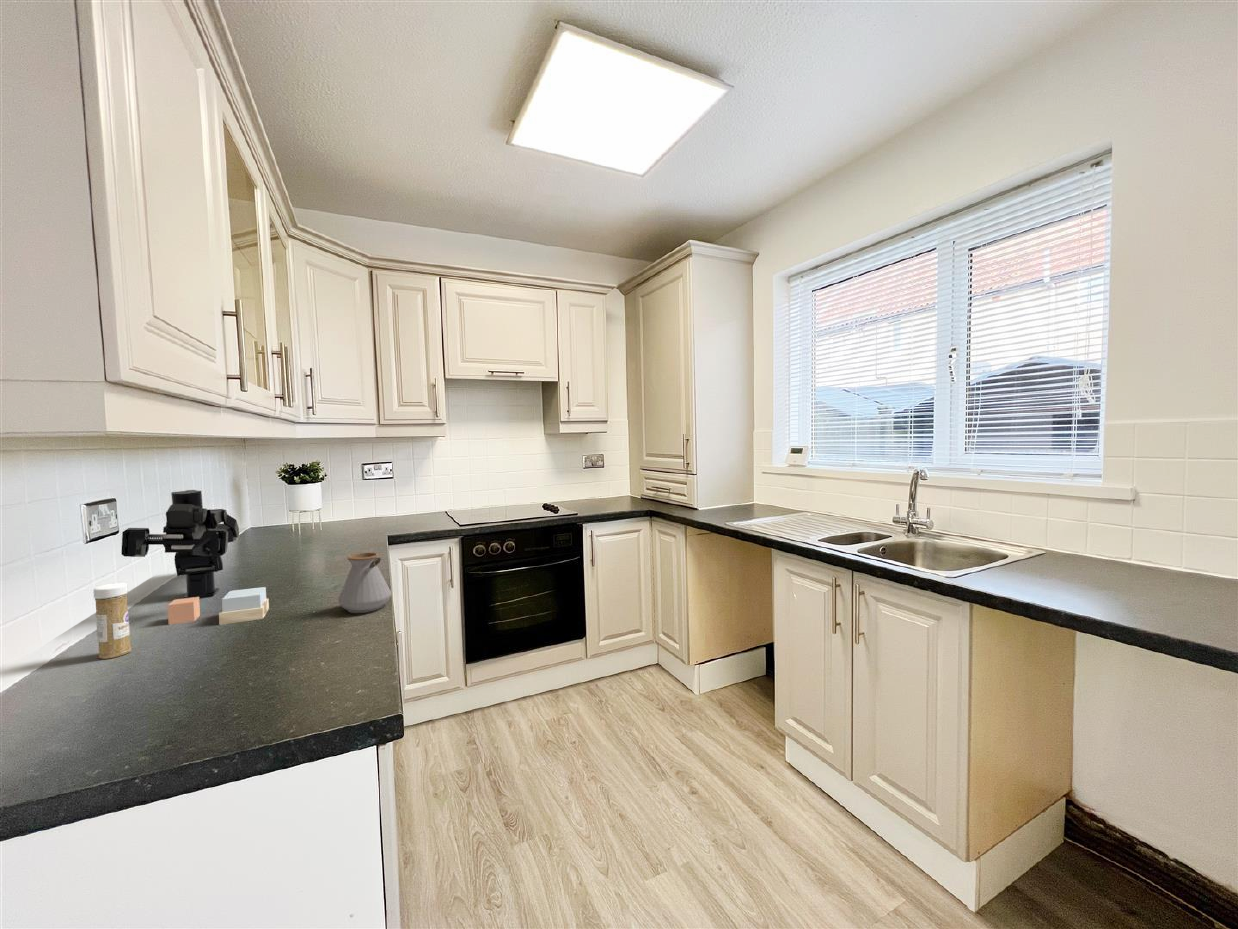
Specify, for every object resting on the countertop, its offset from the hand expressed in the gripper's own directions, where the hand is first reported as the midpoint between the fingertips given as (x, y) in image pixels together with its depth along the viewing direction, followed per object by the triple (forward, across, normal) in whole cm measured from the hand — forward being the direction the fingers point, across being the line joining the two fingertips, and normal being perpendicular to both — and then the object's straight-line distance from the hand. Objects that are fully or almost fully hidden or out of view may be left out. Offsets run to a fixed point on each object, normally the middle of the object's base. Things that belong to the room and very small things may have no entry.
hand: (165, 552), depth 110 cm
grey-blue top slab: (+2, +15, +12) cm, 20 cm away
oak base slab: (+2, +16, +15) cm, 22 cm away
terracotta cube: (-2, +4, +16) cm, 17 cm away
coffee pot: (+14, +41, +11) cm, 45 cm away
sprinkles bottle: (+16, -2, +16) cm, 23 cm away
